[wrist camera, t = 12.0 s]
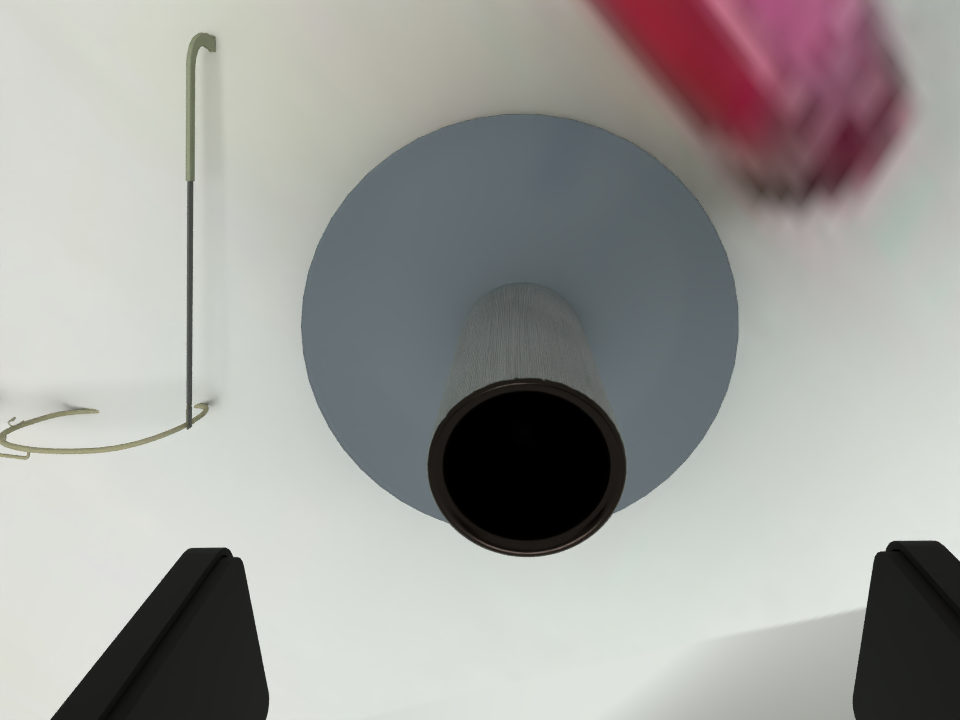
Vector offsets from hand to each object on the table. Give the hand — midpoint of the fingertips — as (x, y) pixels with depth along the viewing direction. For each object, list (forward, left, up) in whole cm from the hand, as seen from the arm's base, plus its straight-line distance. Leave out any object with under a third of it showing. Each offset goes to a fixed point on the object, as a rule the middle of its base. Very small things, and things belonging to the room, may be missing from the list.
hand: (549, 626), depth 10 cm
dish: (0, 0, -17) cm, 17 cm away
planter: (0, 0, -16) cm, 16 cm away
